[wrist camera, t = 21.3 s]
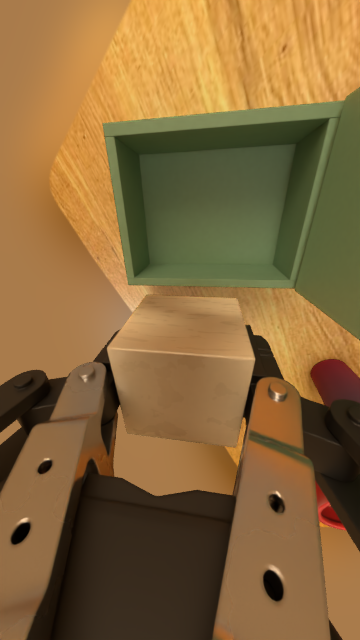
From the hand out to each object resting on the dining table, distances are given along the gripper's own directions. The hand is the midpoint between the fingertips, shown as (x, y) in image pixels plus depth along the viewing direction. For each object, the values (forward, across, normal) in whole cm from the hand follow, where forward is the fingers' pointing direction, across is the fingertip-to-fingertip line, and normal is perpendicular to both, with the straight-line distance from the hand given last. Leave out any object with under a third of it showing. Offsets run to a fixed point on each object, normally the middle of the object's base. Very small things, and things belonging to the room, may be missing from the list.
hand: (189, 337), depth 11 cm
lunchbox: (+17, -1, -6) cm, 18 cm away
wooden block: (0, 0, 0) cm, 0 cm away
